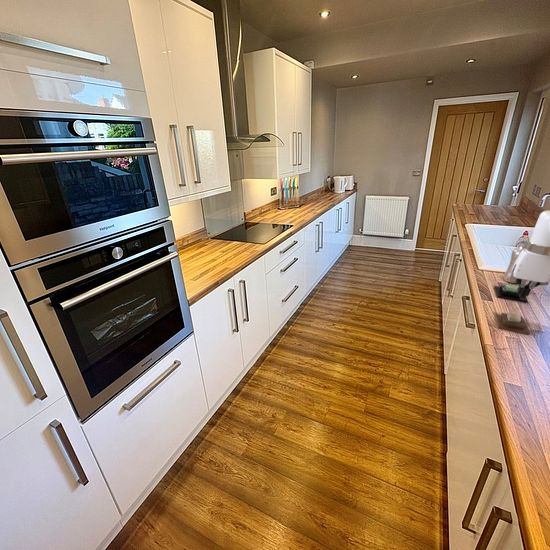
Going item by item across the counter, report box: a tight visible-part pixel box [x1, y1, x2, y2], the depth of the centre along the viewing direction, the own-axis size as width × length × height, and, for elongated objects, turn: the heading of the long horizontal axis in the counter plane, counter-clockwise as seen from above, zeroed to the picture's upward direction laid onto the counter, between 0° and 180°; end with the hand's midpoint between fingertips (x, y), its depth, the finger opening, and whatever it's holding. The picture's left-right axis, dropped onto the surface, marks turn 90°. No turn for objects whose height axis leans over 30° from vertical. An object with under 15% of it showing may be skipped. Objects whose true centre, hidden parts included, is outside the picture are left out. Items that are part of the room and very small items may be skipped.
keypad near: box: [494, 312, 531, 336], centre depth 108 cm, size 9×9×3 cm
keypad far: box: [493, 284, 527, 304], centre depth 128 cm, size 10×10×3 cm
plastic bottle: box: [502, 241, 529, 284], centre depth 136 cm, size 6×7×20 cm
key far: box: [505, 283, 519, 292], centre depth 127 cm, size 4×4×2 cm
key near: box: [506, 312, 521, 323], centre depth 107 cm, size 3×3×2 cm
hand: (521, 296), depth 104 cm, fingers closed
